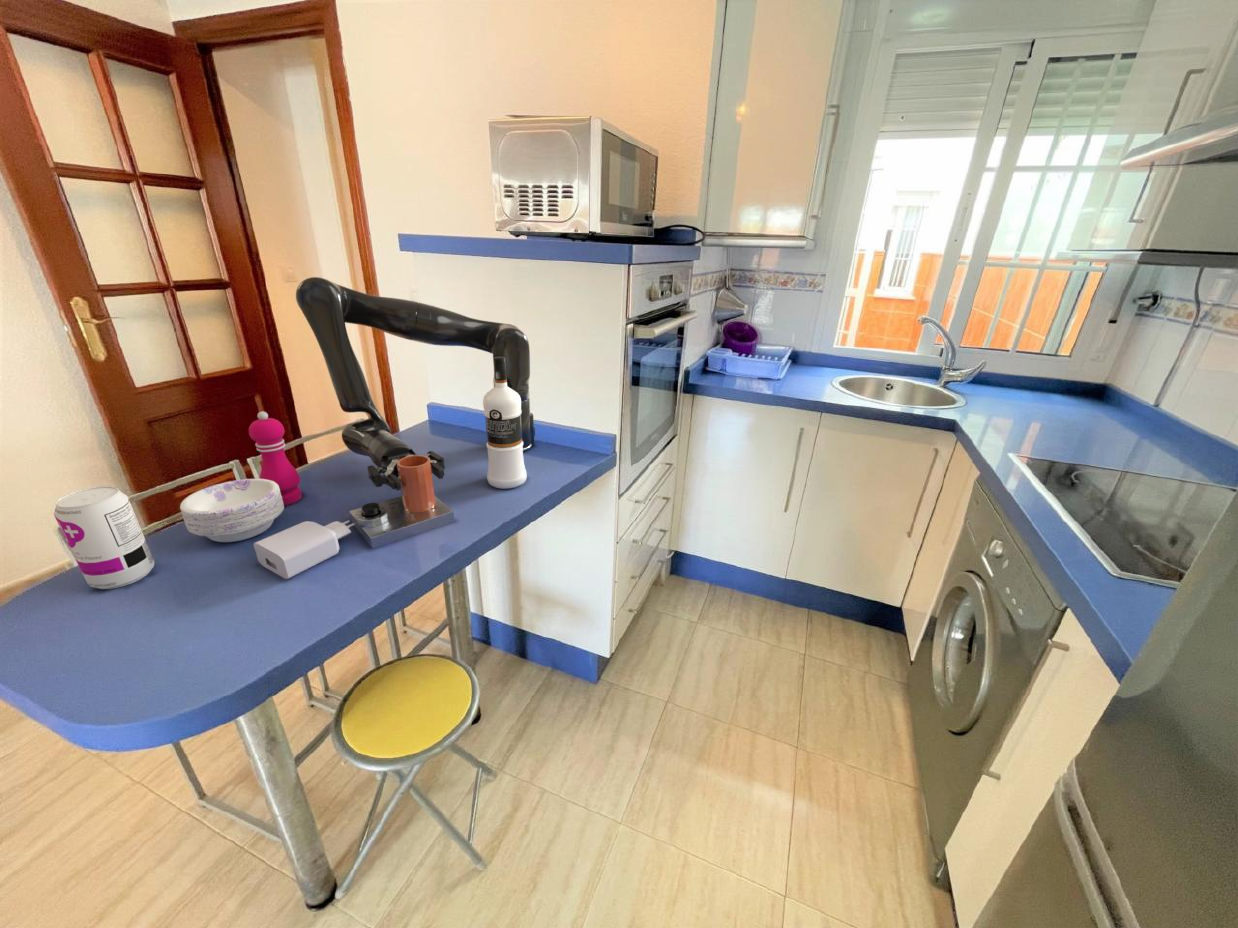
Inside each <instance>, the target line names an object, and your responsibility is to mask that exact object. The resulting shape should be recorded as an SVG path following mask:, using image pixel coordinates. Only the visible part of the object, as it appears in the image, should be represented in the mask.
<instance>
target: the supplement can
mask: <svg viewBox="0 0 1238 928" xmlns="http://www.w3.org/2000/svg"><path fill="white" fill-rule="evenodd" d="M53 516H54V518H55V520H56V523H57V525H58V526H59V528H60V530H61V532H62V535H63V537H64V539H65V540H66V542H67V544H68V547H69V549H70V551H71V553H72V555H73V557H74V559H75V561H76V563H77V565H78V568H79V570H80V572H81V573H82V576H83V577H84V579H85V582H86V584H87V585H88V586H89V587H91V588H95V589H100V590H112V589H118V588H122V587H126V586H128V585H131V584H133V583H135V582H138V581H140V580H142V579H143V578H145V577H146V576H148V574H150V572H151V571H152V569H153V568H154V567H155V560H154V557H153V555H152V552H151V550H150V547H149V545H148V543H147V541H146V538H145V536H144V533H143V530H142V528H141V526H140V523H139V521H138V518H137V516H136V514H135V512H134V508H133V506H132V504H131V502H130V499H129V496H128V495H126V494H125V493H124V492H122V491H120V489H119V488H118V487H116V486H110V485H107V486H103V485H101V486H95V487H90V488H85V489H81V490H80V489H79V490H77V491H74V492H70V493H68V494H66V495H64V496H62V497H60V498H59V499H57V500H56V502H55V508H54V511H53Z"/></svg>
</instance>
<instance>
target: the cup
mask: <svg viewBox="0 0 1238 928" xmlns="http://www.w3.org/2000/svg"><path fill="white" fill-rule="evenodd" d="M397 467H398V474H399V480H400V484H401V490H400V492H401V496H402V498H403V504H404V508H405V510H406V511H408V512H424V511H427V510H430V509H432V508H433V507H434V506H435V504H436V502H435V496H436V494H435V487H434V479H433V473H432V471H431V463H430V458H428V457H427V456H426V455H423V454H422V455H421V454H416V455H414V456H408V457H404V458H402V459H400V460H399V461H398V462H397Z"/></svg>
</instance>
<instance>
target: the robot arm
mask: <svg viewBox="0 0 1238 928" xmlns="http://www.w3.org/2000/svg"><path fill="white" fill-rule="evenodd" d="M295 301H296V303H297V307H298V308H299V309H300V310H301V313H302V314H303V316H304V318H305V320H306V321H307V323H308V325H309V327H310V329H311V330H312V333H313V334H314V338H315V339H316V341H317V344H318V346H319V349H320V351H321V354H322V356H323V359H324V362H325V365H326V368H327V370H328V375H329V377H330V381H331V383H332V386H333V387H332V388H333V390H334V393H335V395H336V398H337V401H338V404H339V407H340V408H341V411H343V412H344V413H347V414H348V413H349V414H351V413H352V414H353V413H364V414H365V415H366V416H367V417H368V418H365V419H362V420H358V421H354V422H350V423H348V424H346V425H344V427H343V429H342V431H341V440H342V442H343V444H344V446H346V448H347V449H348V450H349V451H351V452H352V453H354V454H356V455H360V456H364V457H368V458H369V459H370V460H371V462H372V463H373V464H374V465H367V472H368V473H367V474H368V478H369V479H370V481H371V482H372V483H373V485H374V486H375V487H376V488H381V487H383V485H385V486H387V487H389V488H390V489H392V490H396V491H397V492H398V491H401V484H400V480H399V474H398V467H397V462H398V461H399V460H400V459H402V458H404V457H408V456H414V455H417V454H416V452H415V451H414V449H413V448H412V447H410V446H409V445H408V444H407V443H405V442H403V440H401V439H400V438H398V437H396V436H394V435H392V431H391V428H390V426H389V424H388V422H387V421H386V420H385V419H384V416H382V414H381V412H380V411H379V409H378V408H377V406H376V404H375V402H374V400H373V398H372V394H371V392H370V389H369V388H370V387H369V385H368V383H367V380H366V377H365V374H364V372H363V369H362V366H361V364H360V362H359V360H358V358H357V355H356V354H355V351H354V348H353V346H352V344H351V340H350V338H349V334H348V331H347V327H346V324H352V325H358V326H359V325H360V326H364V327H369V328H372V329H376V330H377V331H380V332H383V333H386V334H389V335H391V336H395V337H398V338H401V339H404V340H408V341H411V342H412V341H413V342H416V343H422V344H426V345H431V346H432V345H433V346H440V347H441V346H442V347H465V348H466V347H468V348H471V349H476V350H480V351H483V352H486V353H489V354H492V362H493V365H494V360H493V358H494V357H505V363H506V377H507V386H508V387H509V388H511V389H512V390H514V391H515V392H517V393H518V394H519V396H520V398H521V411H522V412H521V428H522V441H523V452H527V451H529V450H530V449H532V448H533V447H535V446H536V445H535V436H536V427H535V424H534V414H533V413H532V412H531V401H530V378H531V355H530V354H531V353H530V343H529V339H528V337H527V335H526V334H525V333H524V332H523V330H521V329H520V328H519V327H518V326H516V325H514V324H511V323H504V322H495V321H489V320H483V319H478V318H477V319H476V318H474V317H473V318H472V317H470V316H466V315H463V314H461V313H458V312H455V311H451V310H448V309H445V308H443V307H438V306H435V305H431V304H427V303H423V302H419V301H415V300H409V299H404V298H396V297H388V296H378V295H372V294H368V293H364V292H361V291H358V290H355V289H352V288H349V287H346V286H343V285H342V284H341V285H340V284H338V283H336V282H333V281H332V280H329V279H327V278H324V277H321V276H320V277H319V276H312V277H307V278H306V279H303V280H302V281H301V282H300V283H299V284H298V286H297V287H296V290H295ZM492 381H493V382H492V383H493V388H494V387H495V374H494V373H493V380H492ZM426 454H427V455H425V456H427V457H428V458H430V463H431V471H432V475H434V476H435V477H436V478H437V479H439V480H440V479H444V476H445V469H446V467H445V459H444V456H441V455H440V454H438V453H436V452H434V451H433V450H429V451H427V453H426Z"/></svg>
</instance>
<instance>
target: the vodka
mask: <svg viewBox="0 0 1238 928" xmlns="http://www.w3.org/2000/svg"><path fill="white" fill-rule="evenodd" d="M493 360H494V364H493V375H494V374H495V387H494V386H493V388H491V389H490V390H489V391H487V392H486V393H485V394H484V396H483V397H482V398H483V399H482V406H483V415H484V421H485V433H486V450H487V459H488V460H487V461H488V463H487V473H486V480H487V482H488V484H489V485H490V486H492V487H493V488H496V489H500V490H510V489H515V488H518V487H520V486H522V485H524V483H526V481H527V479H528V476H527V470H526V465H525V459H524V451H523V441H522V428H521V412H522V411H521V398H520V396H519V394H518V393H517V392H515V391H514V390H512V389H511V388H509V387H508V386H507V377H506V363H505V357H494V358H493V357H492V361H493Z"/></svg>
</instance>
